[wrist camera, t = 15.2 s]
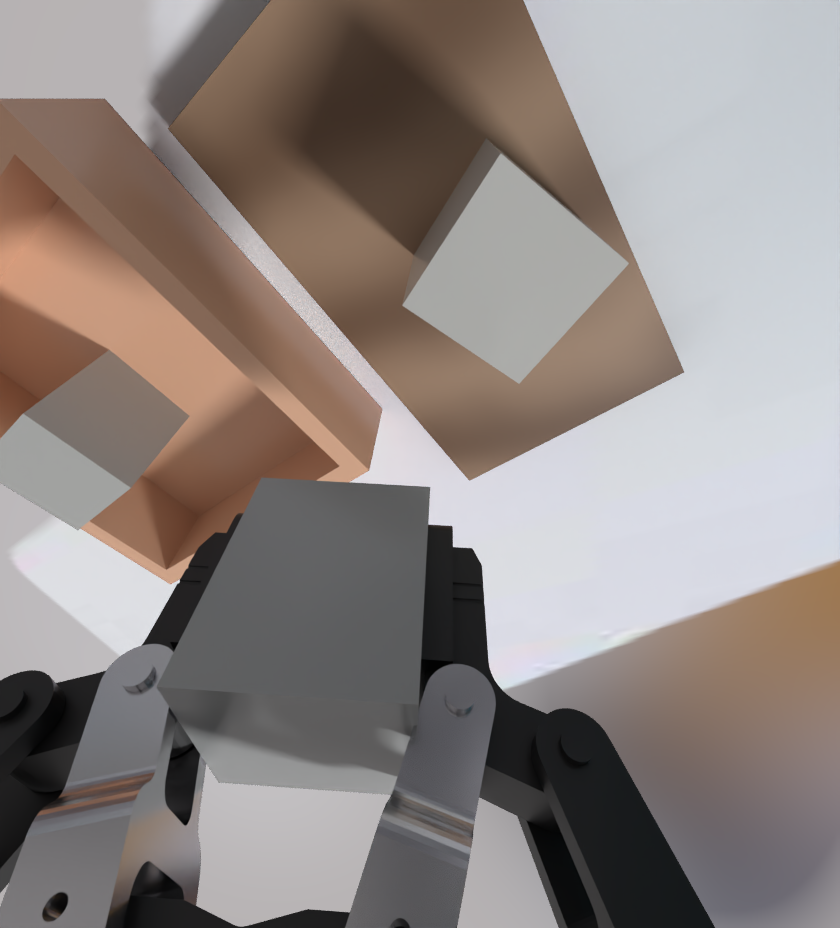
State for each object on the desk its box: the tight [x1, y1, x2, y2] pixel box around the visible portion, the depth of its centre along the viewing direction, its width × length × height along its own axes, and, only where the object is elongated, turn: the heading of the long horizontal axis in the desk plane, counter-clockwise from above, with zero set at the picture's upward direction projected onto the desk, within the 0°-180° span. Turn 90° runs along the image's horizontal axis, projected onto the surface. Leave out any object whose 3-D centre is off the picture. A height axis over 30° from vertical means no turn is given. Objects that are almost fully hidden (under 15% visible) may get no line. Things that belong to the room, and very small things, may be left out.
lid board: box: [168, 0, 684, 481], centre depth 17 cm, size 17×10×1 cm, turn 36°
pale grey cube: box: [402, 138, 629, 383], centre depth 14 cm, size 4×4×5 cm
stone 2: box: [157, 478, 430, 795], centre depth 10 cm, size 4×4×5 cm
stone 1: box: [0, 350, 189, 530], centre depth 19 cm, size 4×4×5 cm
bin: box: [0, 99, 382, 584], centre depth 19 cm, size 14×13×4 cm
